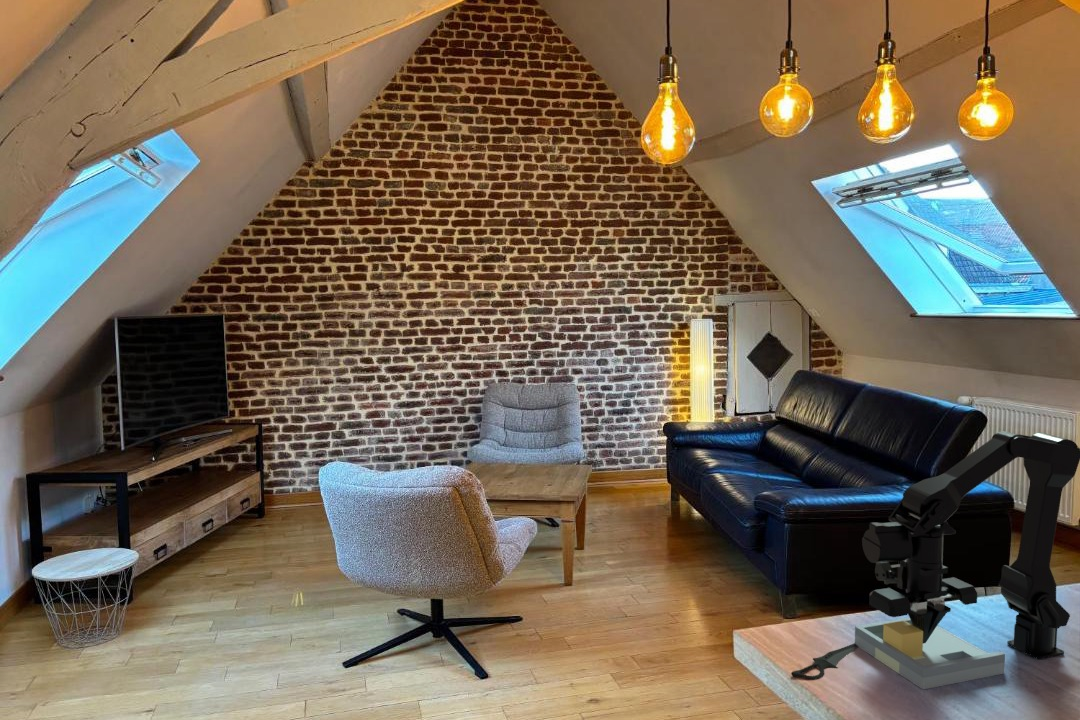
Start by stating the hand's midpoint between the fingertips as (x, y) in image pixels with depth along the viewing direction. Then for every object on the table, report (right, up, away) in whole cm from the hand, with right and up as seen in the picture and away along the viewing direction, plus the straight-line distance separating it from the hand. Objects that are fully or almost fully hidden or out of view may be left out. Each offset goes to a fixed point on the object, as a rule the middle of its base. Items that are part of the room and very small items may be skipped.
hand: (921, 642), depth 140 cm
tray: (+1, -3, +1) cm, 3 cm away
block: (-4, -1, -1) cm, 4 cm away
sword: (-14, -4, +2) cm, 15 cm away
